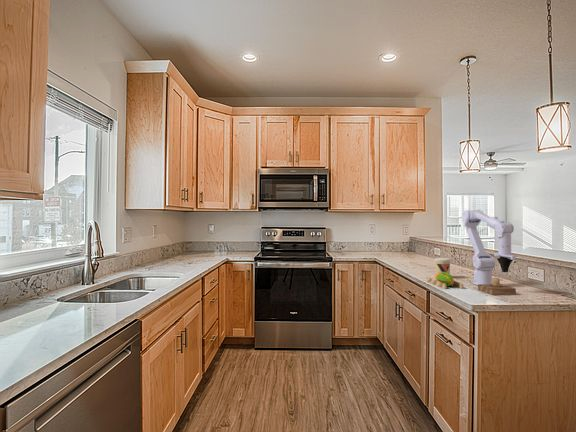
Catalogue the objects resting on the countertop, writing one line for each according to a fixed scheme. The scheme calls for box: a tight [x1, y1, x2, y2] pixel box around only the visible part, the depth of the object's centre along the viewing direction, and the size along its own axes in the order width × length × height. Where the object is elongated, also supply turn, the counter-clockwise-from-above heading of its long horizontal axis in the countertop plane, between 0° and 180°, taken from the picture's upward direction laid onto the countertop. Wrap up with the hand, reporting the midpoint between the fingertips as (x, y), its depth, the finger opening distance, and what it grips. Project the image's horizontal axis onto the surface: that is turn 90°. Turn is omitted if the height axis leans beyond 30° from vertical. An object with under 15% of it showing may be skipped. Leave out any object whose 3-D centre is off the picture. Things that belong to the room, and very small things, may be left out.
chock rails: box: [426, 276, 464, 290], centre depth 196 cm, size 23×10×2 cm, turn 1°
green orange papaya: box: [434, 272, 455, 287], centre depth 196 cm, size 7×8×20 cm
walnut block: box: [477, 283, 517, 296], centre depth 175 cm, size 12×12×3 cm
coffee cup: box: [434, 257, 451, 275], centre depth 219 cm, size 9×9×12 cm
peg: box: [492, 277, 501, 287], centre depth 175 cm, size 3×3×7 cm
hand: (505, 272), depth 177 cm, fingers closed
